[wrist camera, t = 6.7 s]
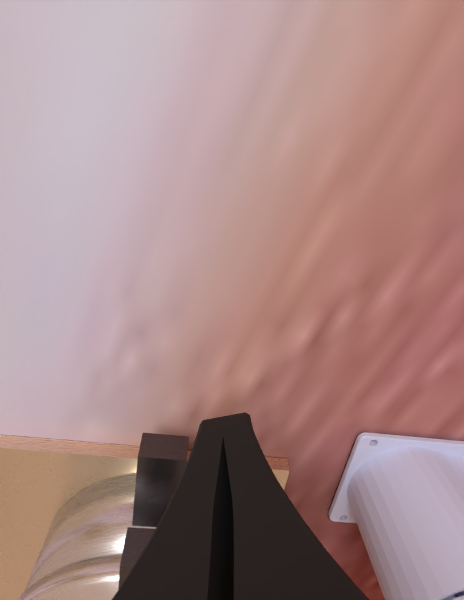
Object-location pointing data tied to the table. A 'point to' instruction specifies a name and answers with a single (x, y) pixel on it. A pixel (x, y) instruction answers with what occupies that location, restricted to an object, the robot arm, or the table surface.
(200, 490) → the robot arm
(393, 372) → the table surface
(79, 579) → the cooker lid
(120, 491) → the tan square board
